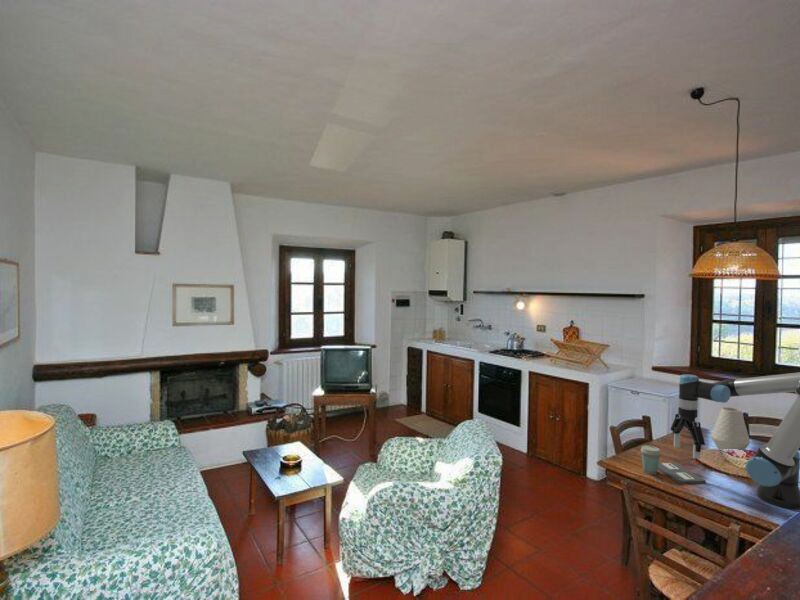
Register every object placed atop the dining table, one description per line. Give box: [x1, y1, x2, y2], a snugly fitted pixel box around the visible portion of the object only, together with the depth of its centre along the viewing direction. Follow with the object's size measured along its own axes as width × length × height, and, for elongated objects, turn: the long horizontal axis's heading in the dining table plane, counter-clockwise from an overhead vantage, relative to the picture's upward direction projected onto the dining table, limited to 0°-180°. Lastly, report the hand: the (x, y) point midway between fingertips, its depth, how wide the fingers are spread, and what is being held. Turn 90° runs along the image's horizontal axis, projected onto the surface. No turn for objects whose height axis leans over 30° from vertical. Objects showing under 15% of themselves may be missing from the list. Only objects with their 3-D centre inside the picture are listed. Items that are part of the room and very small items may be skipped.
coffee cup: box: [640, 444, 661, 476], centre depth 216 cm, size 8×8×12 cm
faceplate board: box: [657, 462, 706, 484], centre depth 215 cm, size 20×13×2 cm, turn 2°
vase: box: [710, 406, 751, 451], centre depth 245 cm, size 17×17×23 cm
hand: (686, 452), depth 209 cm, fingers open, 13 cm apart
